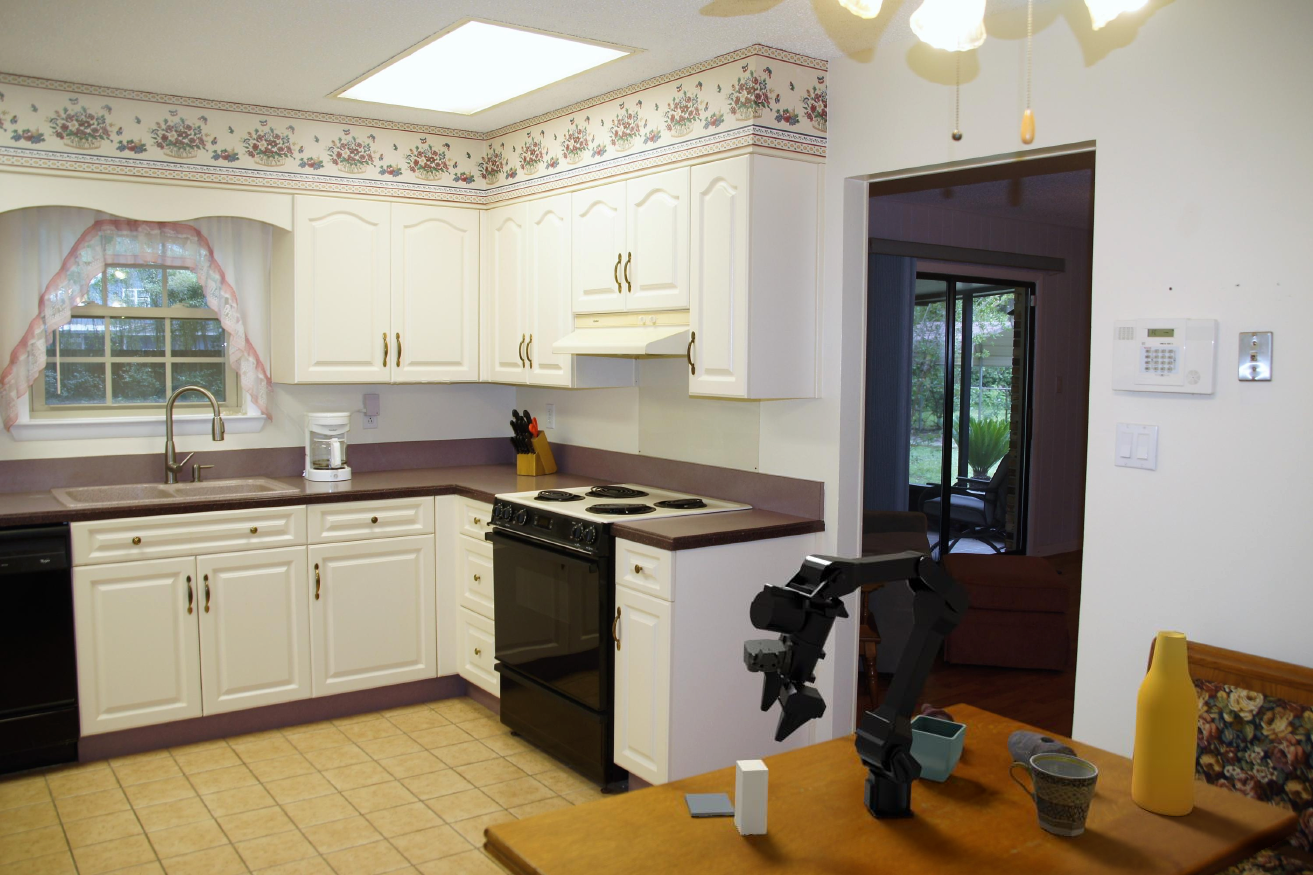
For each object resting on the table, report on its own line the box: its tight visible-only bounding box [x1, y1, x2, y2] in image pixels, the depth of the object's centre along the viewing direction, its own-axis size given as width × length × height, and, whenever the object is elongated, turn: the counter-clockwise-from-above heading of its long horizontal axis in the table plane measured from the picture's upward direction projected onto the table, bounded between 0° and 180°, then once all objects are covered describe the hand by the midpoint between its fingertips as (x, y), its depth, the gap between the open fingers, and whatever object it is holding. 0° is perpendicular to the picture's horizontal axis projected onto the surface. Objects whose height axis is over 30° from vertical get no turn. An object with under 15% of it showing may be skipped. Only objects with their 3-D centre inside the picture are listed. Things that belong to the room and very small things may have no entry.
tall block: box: [733, 759, 769, 836], centre depth 151 cm, size 4×4×10 cm
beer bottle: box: [1131, 630, 1200, 817], centre depth 163 cm, size 9×9×29 cm
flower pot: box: [910, 714, 967, 783], centre depth 174 cm, size 9×9×9 cm
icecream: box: [921, 703, 955, 722], centre depth 190 cm, size 7×7×15 cm
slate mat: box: [684, 792, 735, 817], centre depth 159 cm, size 7×7×1 cm
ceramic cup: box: [1008, 753, 1099, 837], centre depth 155 cm, size 13×10×10 cm
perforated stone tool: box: [1007, 730, 1078, 766], centre depth 177 cm, size 15×5×7 cm, turn 20°
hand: (770, 725), depth 153 cm, fingers open, 9 cm apart
